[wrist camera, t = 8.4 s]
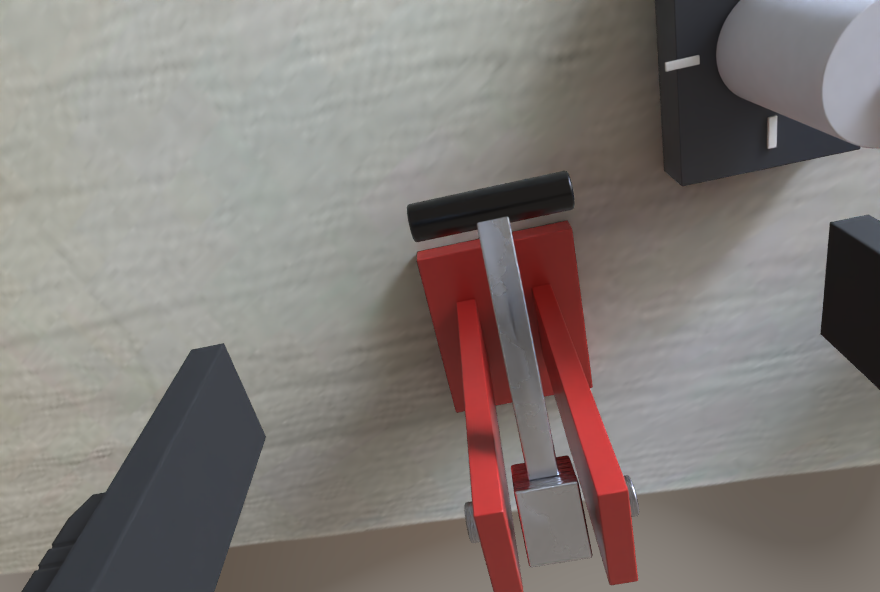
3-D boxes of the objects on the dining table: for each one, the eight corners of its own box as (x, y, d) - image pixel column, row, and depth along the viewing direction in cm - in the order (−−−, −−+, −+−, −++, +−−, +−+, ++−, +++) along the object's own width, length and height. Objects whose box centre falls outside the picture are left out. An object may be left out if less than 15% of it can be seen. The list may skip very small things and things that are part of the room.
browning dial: (714, -7, 25) (831, 4, 18) (838, -36, 25) (1009, -37, 17) (716, 112, 27) (821, 165, 20) (829, 87, 27) (979, 132, 20)
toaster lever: (410, 205, 23) (402, 204, 20) (562, 172, 22) (572, 167, 20) (482, 540, 24) (482, 576, 22) (625, 516, 24) (641, 550, 21)
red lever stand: (416, 251, 33) (406, 459, 19) (567, 220, 32) (672, 412, 18) (455, 400, 38) (470, 657, 24) (588, 376, 37) (685, 625, 23)
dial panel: (638, -77, 26) (658, -82, 24) (861, -132, 25) (904, -143, 23) (653, 173, 31) (672, 190, 29) (840, 134, 30) (874, 147, 28)
